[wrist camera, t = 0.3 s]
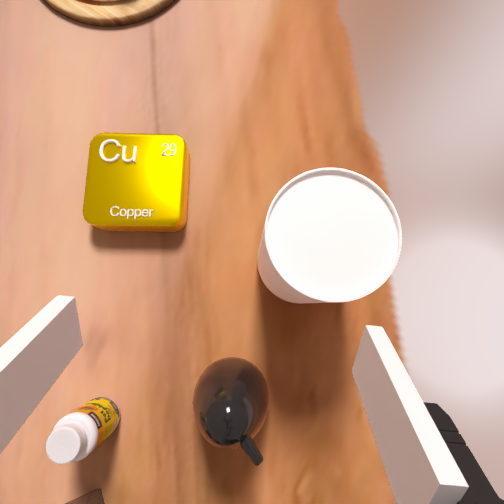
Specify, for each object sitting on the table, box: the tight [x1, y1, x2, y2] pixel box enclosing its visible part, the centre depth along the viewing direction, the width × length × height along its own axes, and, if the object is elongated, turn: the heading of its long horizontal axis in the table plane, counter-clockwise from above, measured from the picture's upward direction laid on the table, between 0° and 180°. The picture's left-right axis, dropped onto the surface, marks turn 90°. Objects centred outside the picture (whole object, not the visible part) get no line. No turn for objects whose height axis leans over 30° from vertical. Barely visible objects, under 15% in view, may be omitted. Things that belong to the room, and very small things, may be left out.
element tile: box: [83, 133, 190, 232], centre depth 50 cm, size 15×15×5 cm
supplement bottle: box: [46, 397, 120, 464], centre depth 41 cm, size 6×6×10 cm
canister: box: [257, 168, 402, 304], centre depth 41 cm, size 14×14×20 cm
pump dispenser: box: [193, 357, 269, 466], centre depth 40 cm, size 10×10×15 cm
